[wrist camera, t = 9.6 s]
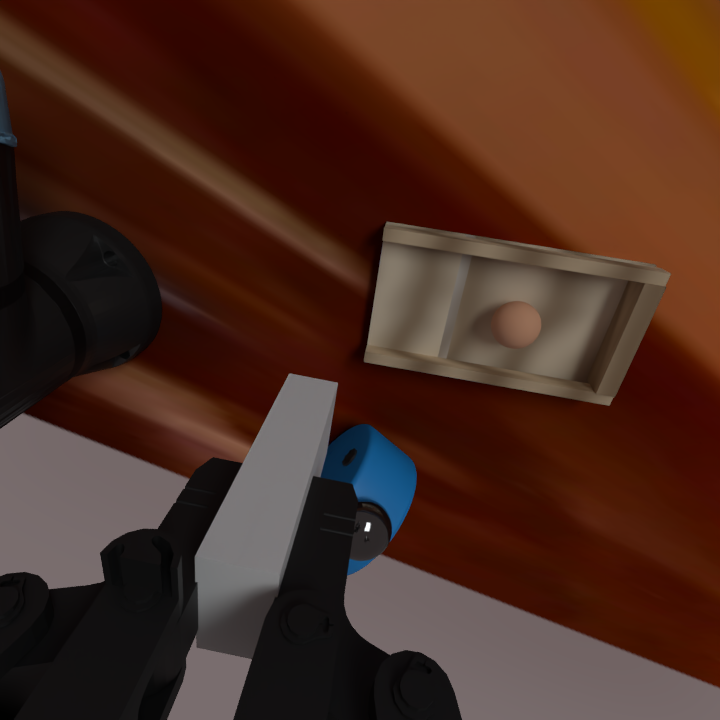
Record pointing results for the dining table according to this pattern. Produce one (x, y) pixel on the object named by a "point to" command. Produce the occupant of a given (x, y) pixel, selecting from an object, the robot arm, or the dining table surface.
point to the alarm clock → (372, 488)
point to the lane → (497, 287)
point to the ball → (516, 324)
